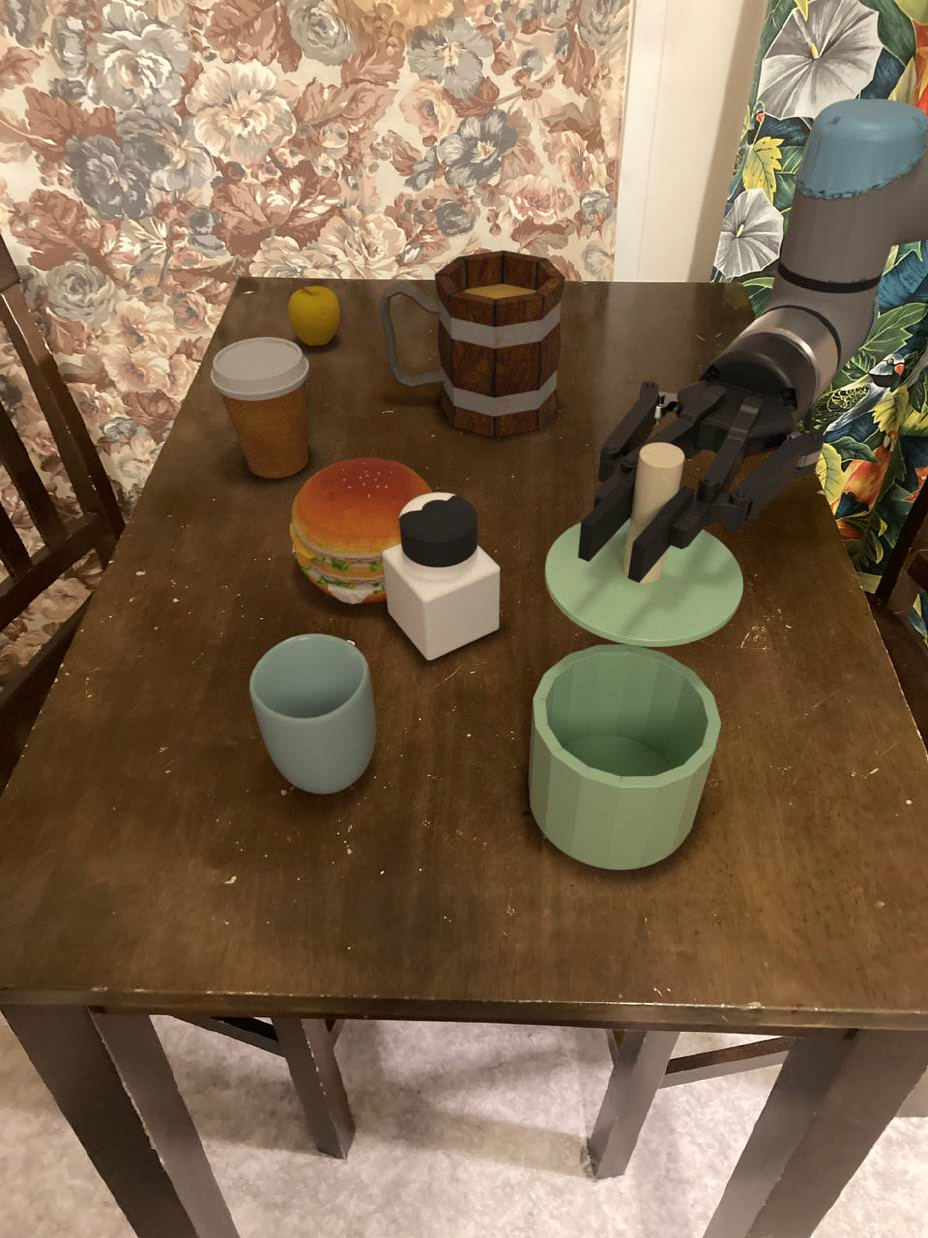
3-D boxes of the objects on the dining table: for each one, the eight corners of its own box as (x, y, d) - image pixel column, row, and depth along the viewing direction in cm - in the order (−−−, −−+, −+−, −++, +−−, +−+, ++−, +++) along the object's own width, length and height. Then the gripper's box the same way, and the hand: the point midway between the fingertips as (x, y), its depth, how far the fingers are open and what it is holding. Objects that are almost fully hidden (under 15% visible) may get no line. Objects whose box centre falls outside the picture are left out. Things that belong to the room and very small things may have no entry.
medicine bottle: (500, 630, 73) (503, 517, 65) (428, 663, 71) (420, 551, 62) (456, 582, 78) (453, 471, 69) (386, 612, 75) (374, 501, 67)
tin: (708, 758, 63) (734, 671, 57) (674, 894, 56) (699, 812, 49) (557, 713, 67) (565, 626, 60) (505, 836, 59) (507, 752, 52)
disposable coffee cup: (341, 459, 92) (327, 355, 84) (270, 499, 87) (246, 392, 79) (286, 427, 97) (267, 325, 89) (215, 463, 92) (188, 359, 84)
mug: (558, 377, 104) (566, 251, 93) (556, 439, 94) (564, 306, 84) (396, 372, 105) (386, 247, 95) (378, 433, 96) (364, 301, 85)
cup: (341, 828, 60) (321, 738, 53) (253, 783, 63) (223, 692, 56) (401, 748, 65) (390, 656, 58) (317, 710, 67) (297, 618, 60)
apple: (285, 352, 110) (274, 290, 104) (306, 329, 114) (297, 269, 108) (332, 358, 108) (323, 296, 103) (351, 335, 112) (344, 274, 107)
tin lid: (754, 548, 60) (790, 419, 53) (719, 677, 51) (756, 544, 44) (576, 508, 64) (587, 383, 56) (517, 622, 55) (521, 491, 48)
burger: (429, 624, 74) (423, 532, 67) (276, 610, 76) (255, 519, 69) (453, 527, 83) (450, 437, 76) (317, 516, 85) (302, 428, 78)
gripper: (858, 458, 62) (726, 653, 49) (660, 396, 69) (496, 553, 56) (892, 362, 57) (754, 551, 44) (674, 306, 64) (497, 454, 50)
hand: (610, 551), depth 50 cm, fingers closed on tin lid, 3 cm apart
